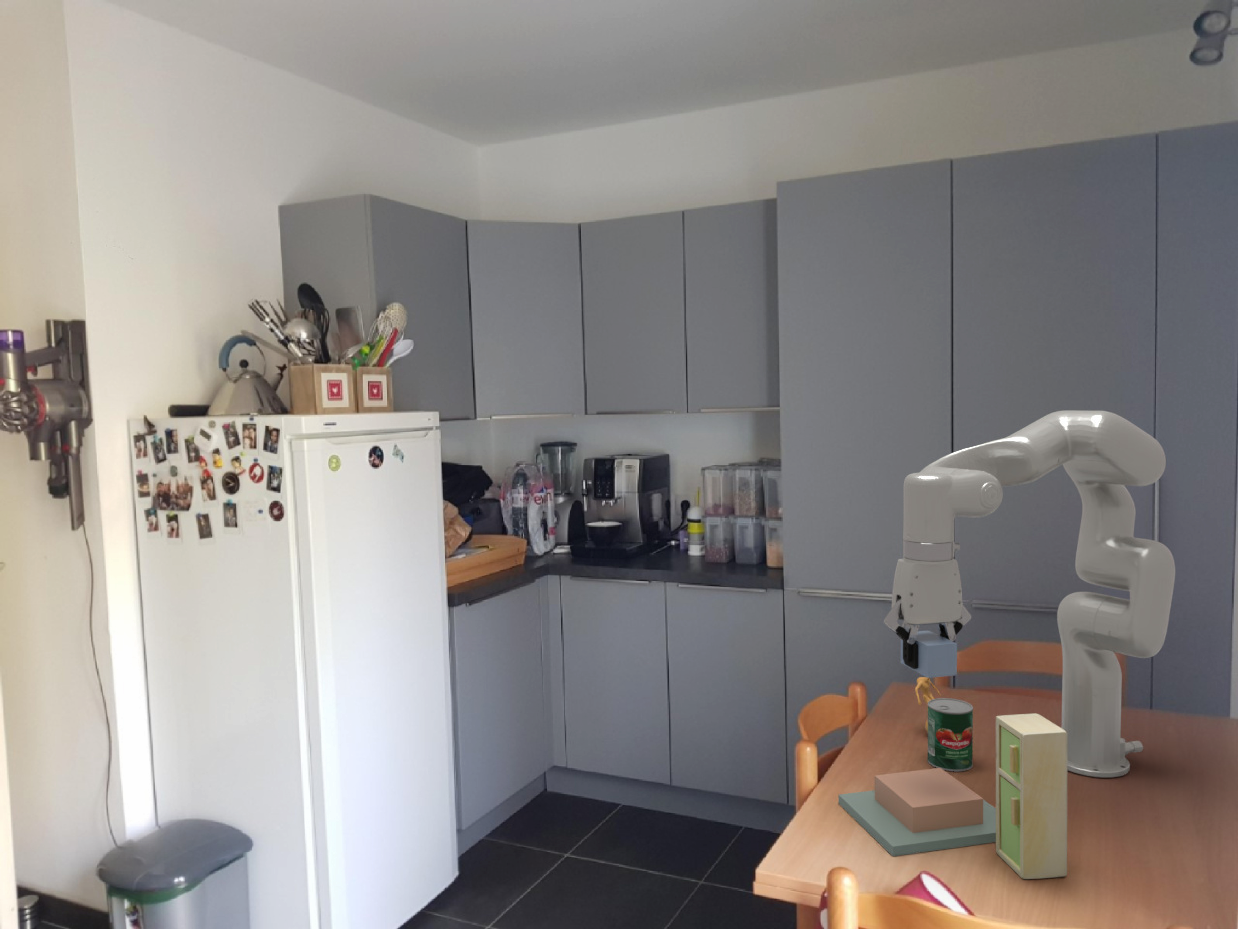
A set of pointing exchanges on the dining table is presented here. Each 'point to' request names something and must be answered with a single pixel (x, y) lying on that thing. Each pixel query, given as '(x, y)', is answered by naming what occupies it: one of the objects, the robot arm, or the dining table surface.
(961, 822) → the block on teal plate
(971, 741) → the canned tomato
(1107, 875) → the dining table surface
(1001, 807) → the toy refrigerator
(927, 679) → the figurine
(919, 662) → the slate brick
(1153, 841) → the dining table surface
